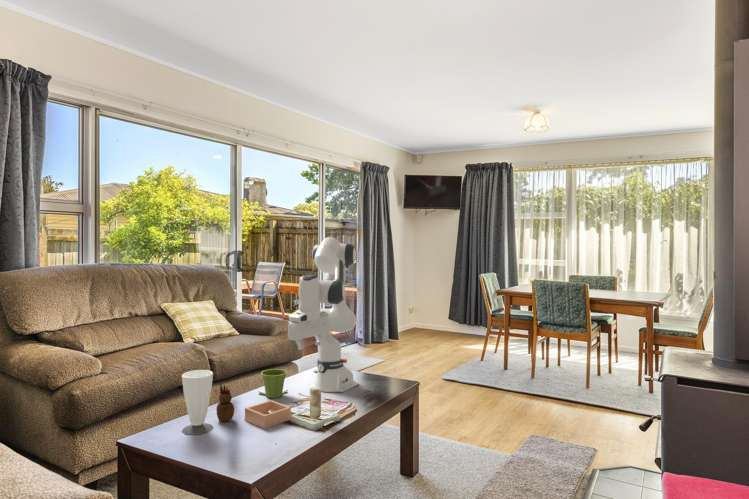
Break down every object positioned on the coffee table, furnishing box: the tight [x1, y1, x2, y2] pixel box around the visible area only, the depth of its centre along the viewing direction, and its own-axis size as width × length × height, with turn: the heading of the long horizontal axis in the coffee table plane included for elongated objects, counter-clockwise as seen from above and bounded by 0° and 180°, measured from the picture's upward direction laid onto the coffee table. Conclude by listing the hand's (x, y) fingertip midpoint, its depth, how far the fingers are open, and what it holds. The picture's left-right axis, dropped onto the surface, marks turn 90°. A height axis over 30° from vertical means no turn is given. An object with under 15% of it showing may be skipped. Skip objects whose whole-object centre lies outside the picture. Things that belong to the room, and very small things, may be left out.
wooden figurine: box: [216, 383, 235, 423], centre depth 200 cm, size 7×6×15 cm
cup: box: [181, 369, 214, 436], centre depth 191 cm, size 12×12×22 cm
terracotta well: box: [244, 399, 292, 429], centre depth 201 cm, size 13×13×5 cm
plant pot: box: [260, 368, 288, 399], centre depth 231 cm, size 12×12×11 cm
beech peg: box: [309, 386, 322, 419], centre depth 200 cm, size 4×4×12 cm
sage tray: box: [289, 407, 341, 431], centre depth 201 cm, size 14×14×2 cm
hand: (309, 347), depth 205 cm, fingers open, 8 cm apart
